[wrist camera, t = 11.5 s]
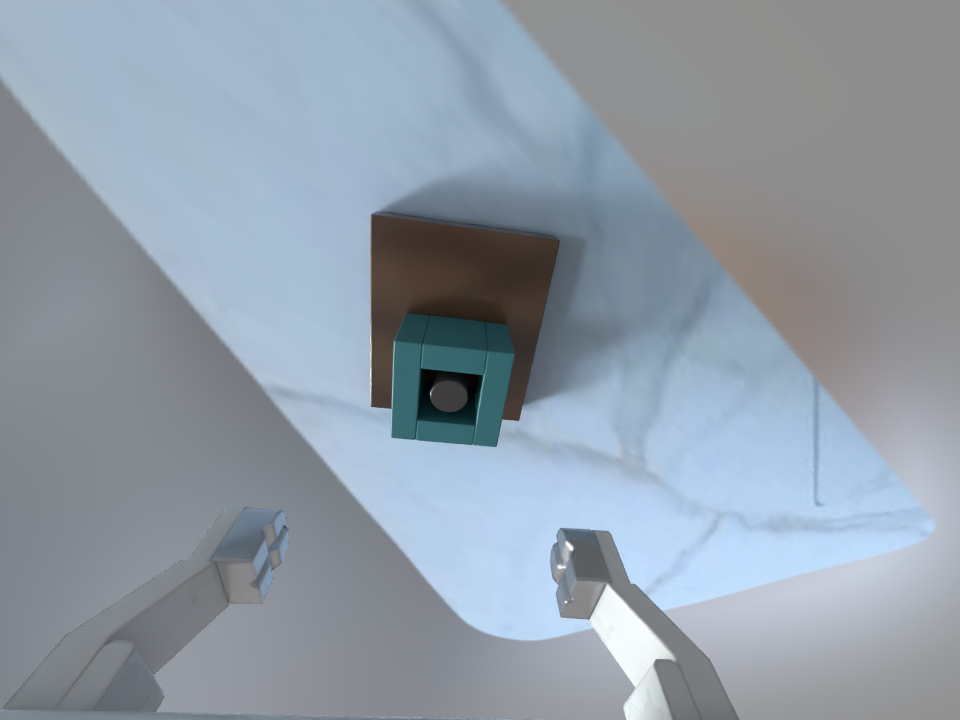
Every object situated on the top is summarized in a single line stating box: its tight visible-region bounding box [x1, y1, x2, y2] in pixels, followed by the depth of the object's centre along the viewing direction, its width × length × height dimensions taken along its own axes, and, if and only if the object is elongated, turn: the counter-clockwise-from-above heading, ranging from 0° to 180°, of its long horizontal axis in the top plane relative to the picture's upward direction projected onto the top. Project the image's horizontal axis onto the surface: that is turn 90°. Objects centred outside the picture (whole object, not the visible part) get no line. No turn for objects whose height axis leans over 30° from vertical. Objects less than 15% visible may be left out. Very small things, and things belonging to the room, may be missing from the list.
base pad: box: [371, 211, 560, 421], centre depth 21 cm, size 12×10×6 cm
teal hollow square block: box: [391, 313, 515, 447], centre depth 21 cm, size 6×6×4 cm
